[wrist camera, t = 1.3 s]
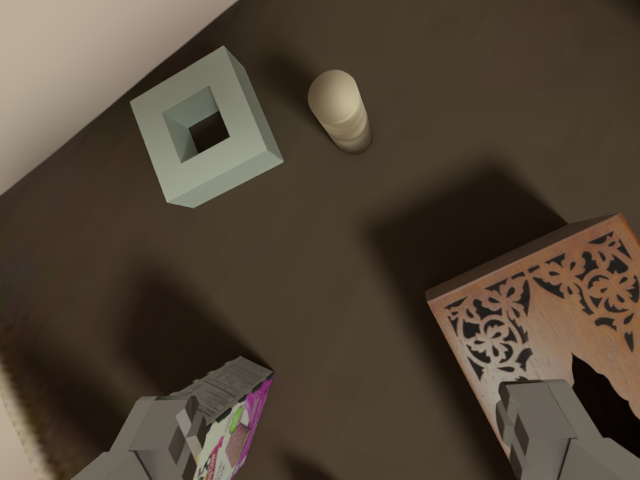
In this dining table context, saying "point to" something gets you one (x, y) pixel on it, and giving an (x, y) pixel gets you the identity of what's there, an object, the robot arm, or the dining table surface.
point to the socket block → (192, 107)
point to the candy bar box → (228, 414)
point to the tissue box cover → (554, 322)
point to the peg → (341, 111)
